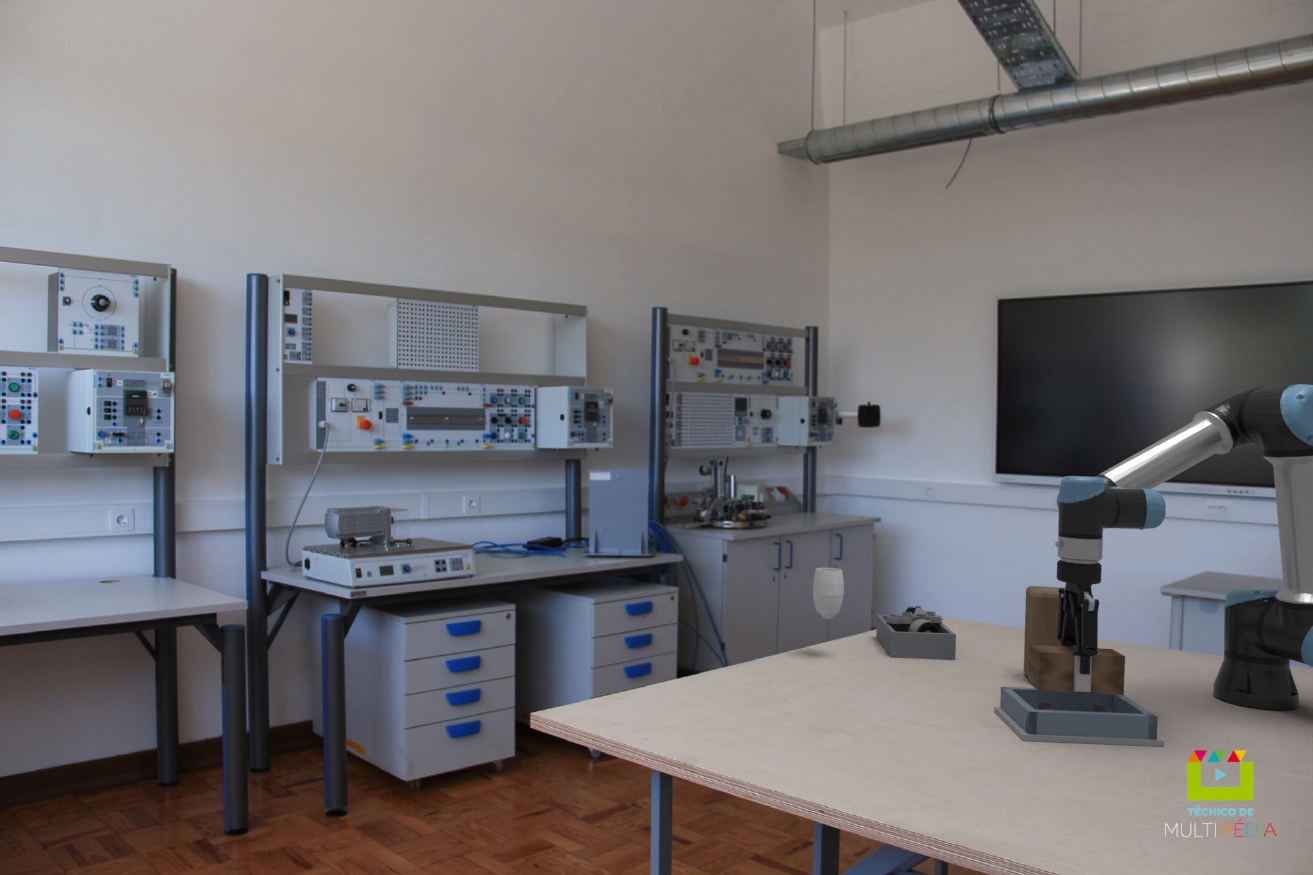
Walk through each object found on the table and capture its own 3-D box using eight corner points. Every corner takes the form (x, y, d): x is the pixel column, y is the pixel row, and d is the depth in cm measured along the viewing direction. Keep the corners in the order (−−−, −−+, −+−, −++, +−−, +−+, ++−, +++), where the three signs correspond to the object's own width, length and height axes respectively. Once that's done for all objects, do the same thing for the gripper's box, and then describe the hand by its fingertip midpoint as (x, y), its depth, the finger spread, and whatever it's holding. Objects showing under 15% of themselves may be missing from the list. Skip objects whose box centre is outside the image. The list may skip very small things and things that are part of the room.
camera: (897, 652, 239) (898, 611, 239) (879, 644, 247) (880, 604, 247) (953, 650, 243) (955, 609, 243) (934, 642, 252) (935, 603, 252)
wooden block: (1080, 688, 210) (1082, 594, 210) (1030, 684, 212) (1033, 591, 212) (1070, 676, 220) (1072, 587, 220) (1022, 673, 222) (1025, 584, 222)
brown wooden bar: (1038, 690, 178) (1039, 651, 178) (1028, 682, 184) (1029, 644, 184) (1123, 695, 177) (1125, 656, 177) (1110, 686, 183) (1112, 648, 183)
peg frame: (1121, 716, 189) (1122, 690, 189) (1164, 746, 171) (1164, 717, 171) (994, 711, 191) (994, 685, 191) (1023, 740, 173) (1023, 711, 173)
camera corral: (934, 640, 256) (935, 617, 256) (955, 659, 234) (956, 634, 234) (876, 637, 257) (876, 614, 257) (891, 657, 235) (891, 632, 235)
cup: (846, 656, 235) (849, 569, 235) (835, 661, 229) (837, 572, 228) (818, 651, 239) (820, 566, 238) (806, 657, 232) (808, 569, 232)
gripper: (1041, 553, 190) (1037, 672, 190) (1077, 566, 171) (1073, 699, 172) (1081, 554, 190) (1077, 674, 190) (1121, 568, 171) (1117, 701, 171)
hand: (1075, 686), depth 181 cm, fingers closed on brown wooden bar, 6 cm apart
